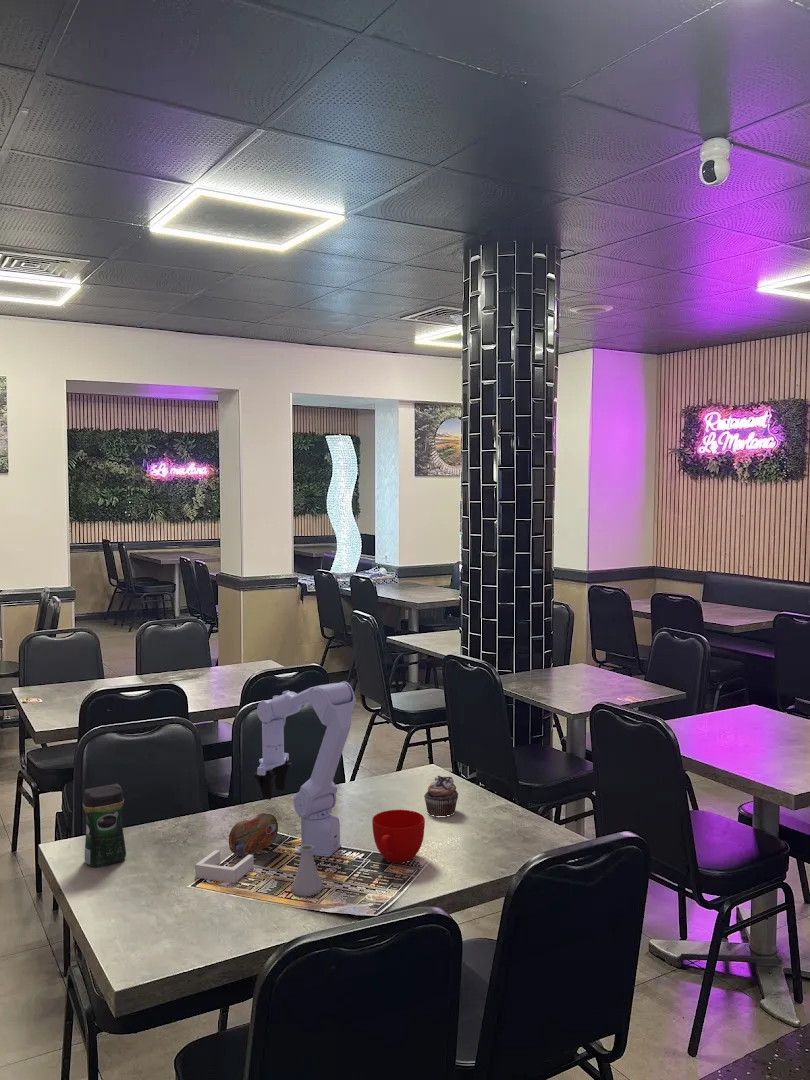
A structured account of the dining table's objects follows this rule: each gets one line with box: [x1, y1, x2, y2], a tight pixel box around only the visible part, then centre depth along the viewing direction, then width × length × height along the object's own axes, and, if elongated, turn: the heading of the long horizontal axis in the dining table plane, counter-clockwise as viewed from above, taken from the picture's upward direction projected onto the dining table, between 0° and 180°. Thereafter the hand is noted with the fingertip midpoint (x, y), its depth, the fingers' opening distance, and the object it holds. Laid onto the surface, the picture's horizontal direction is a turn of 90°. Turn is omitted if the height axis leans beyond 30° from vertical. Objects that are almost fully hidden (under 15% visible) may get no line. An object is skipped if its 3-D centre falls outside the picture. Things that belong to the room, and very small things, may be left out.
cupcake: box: [423, 775, 459, 816], centre depth 244 cm, size 10×10×10 cm
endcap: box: [194, 849, 255, 884], centre depth 205 cm, size 10×9×3 cm
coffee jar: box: [82, 783, 127, 868], centre depth 213 cm, size 10×8×19 cm
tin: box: [228, 812, 279, 858], centre depth 219 cm, size 15×3×8 cm, turn 143°
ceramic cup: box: [371, 809, 426, 864], centre depth 210 cm, size 13×17×10 cm
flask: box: [290, 844, 325, 897], centre depth 195 cm, size 7×7×10 cm
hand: (274, 794), depth 230 cm, fingers open, 7 cm apart
